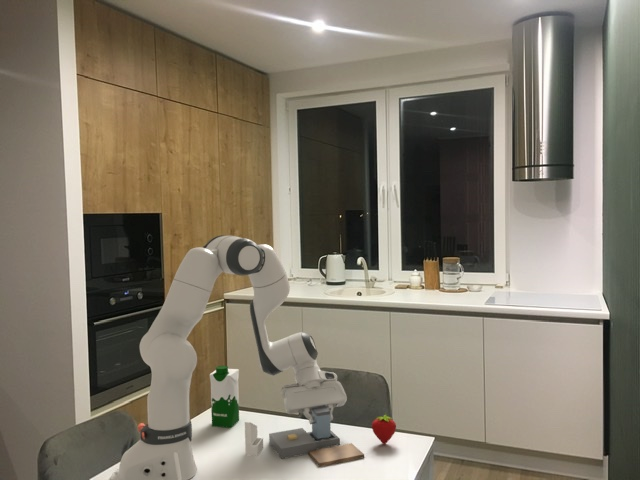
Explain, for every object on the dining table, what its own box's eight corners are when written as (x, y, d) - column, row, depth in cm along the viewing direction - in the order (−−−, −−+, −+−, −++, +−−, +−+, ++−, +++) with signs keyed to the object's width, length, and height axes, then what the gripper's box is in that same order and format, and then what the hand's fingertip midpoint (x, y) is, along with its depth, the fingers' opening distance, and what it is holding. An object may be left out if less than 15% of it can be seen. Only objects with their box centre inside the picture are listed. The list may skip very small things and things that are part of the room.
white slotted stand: (240, 453, 154) (244, 422, 158) (250, 457, 163) (254, 427, 167) (252, 454, 153) (256, 422, 157) (262, 458, 162) (265, 428, 166)
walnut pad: (319, 466, 150) (319, 463, 150) (308, 454, 158) (308, 451, 158) (364, 457, 156) (364, 454, 156) (351, 446, 163) (351, 443, 163)
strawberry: (371, 439, 169) (371, 407, 168) (396, 439, 168) (395, 408, 167) (371, 447, 163) (371, 414, 162) (396, 447, 162) (396, 415, 161)
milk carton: (208, 427, 181) (206, 368, 180) (219, 417, 189) (218, 361, 189) (232, 429, 178) (231, 369, 178) (242, 419, 187) (241, 362, 186)
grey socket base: (281, 458, 156) (281, 446, 156) (269, 443, 167) (269, 431, 167) (342, 447, 163) (342, 435, 163) (326, 432, 174) (326, 421, 174)
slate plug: (317, 438, 164) (317, 413, 164) (312, 433, 168) (311, 408, 168) (330, 436, 166) (330, 411, 165) (325, 431, 170) (324, 406, 170)
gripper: (281, 381, 169) (292, 422, 160) (340, 373, 177) (354, 412, 168) (277, 390, 173) (287, 431, 164) (335, 382, 181) (348, 421, 172)
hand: (321, 421), depth 166 cm, fingers closed on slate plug, 4 cm apart
